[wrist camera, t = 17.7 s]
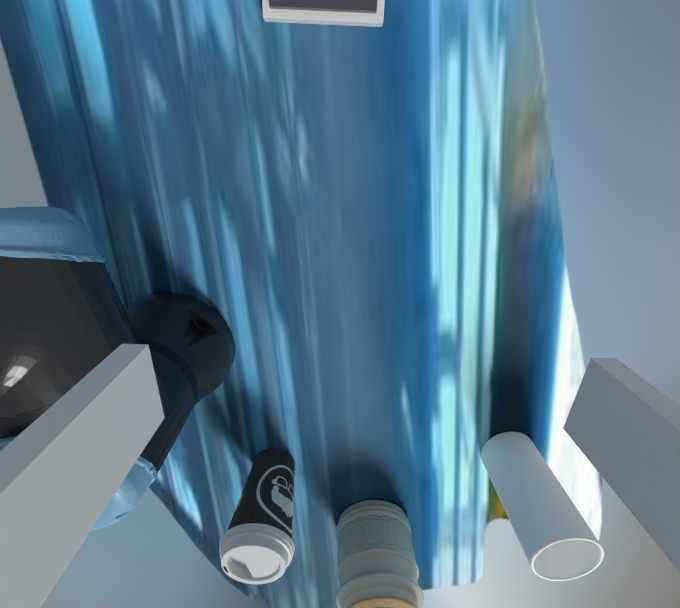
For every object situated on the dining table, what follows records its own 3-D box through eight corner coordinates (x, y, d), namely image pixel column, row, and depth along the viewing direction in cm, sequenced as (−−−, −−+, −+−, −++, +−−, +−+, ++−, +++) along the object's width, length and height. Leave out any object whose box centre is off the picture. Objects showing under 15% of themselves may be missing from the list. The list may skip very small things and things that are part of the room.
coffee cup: (246, 437, 53) (214, 536, 40) (307, 445, 54) (297, 545, 40) (243, 480, 57) (213, 584, 43) (300, 487, 58) (288, 591, 44)
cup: (473, 466, 56) (520, 577, 41) (491, 428, 53) (549, 534, 38) (520, 472, 57) (584, 584, 42) (541, 435, 53) (617, 542, 39)
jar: (325, 508, 60) (320, 639, 44) (396, 489, 58) (418, 619, 42) (351, 551, 65) (355, 682, 49) (417, 535, 63) (444, 666, 47)
